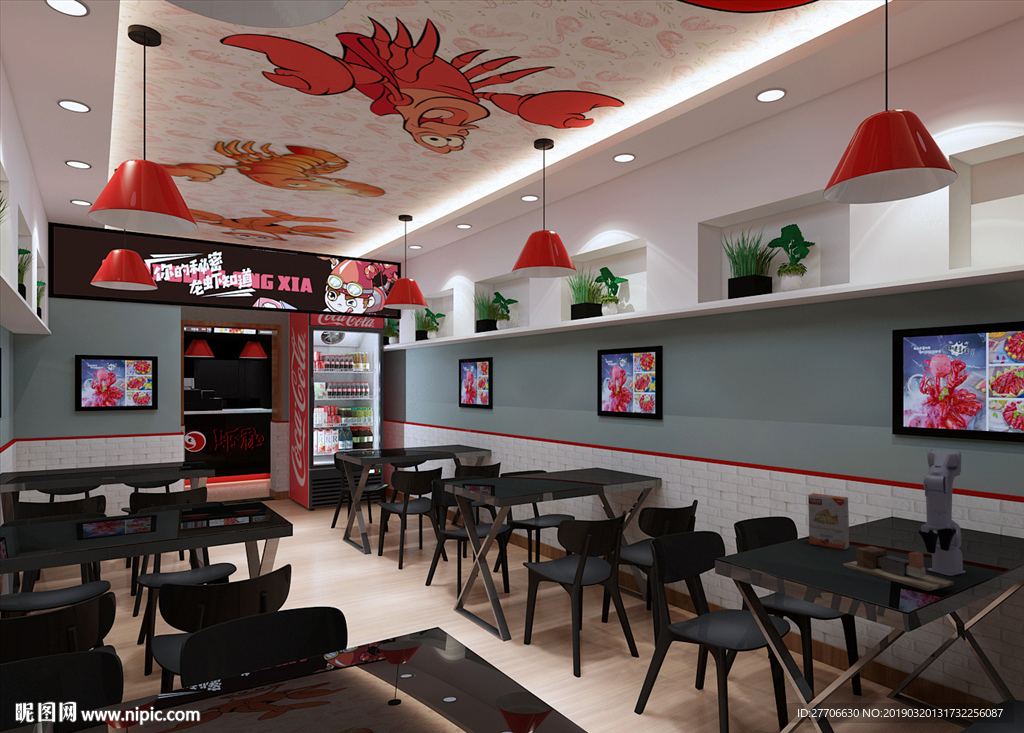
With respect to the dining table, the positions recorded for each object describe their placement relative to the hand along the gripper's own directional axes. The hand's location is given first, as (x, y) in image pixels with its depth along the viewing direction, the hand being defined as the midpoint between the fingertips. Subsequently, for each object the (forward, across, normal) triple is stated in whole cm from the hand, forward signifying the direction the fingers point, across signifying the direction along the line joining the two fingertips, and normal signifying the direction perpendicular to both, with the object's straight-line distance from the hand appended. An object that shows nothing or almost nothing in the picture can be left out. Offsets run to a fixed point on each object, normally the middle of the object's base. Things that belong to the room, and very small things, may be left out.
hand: (938, 551), depth 203 cm
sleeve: (+10, -5, +11) cm, 16 cm away
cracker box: (+10, +9, +48) cm, 50 cm away
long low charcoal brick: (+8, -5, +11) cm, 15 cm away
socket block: (+10, -5, +20) cm, 23 cm away
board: (+10, -5, +11) cm, 16 cm away
